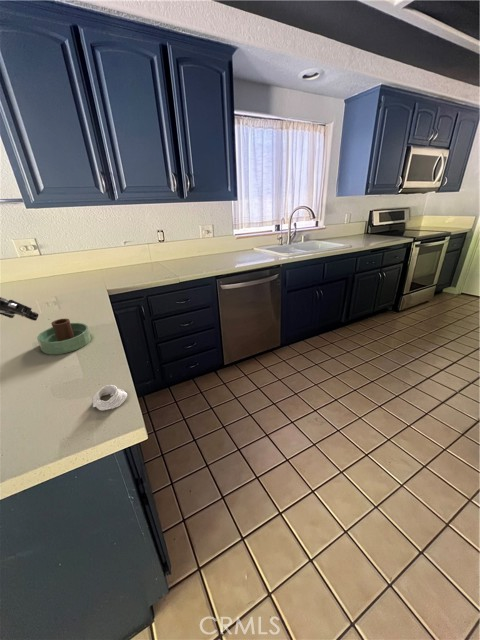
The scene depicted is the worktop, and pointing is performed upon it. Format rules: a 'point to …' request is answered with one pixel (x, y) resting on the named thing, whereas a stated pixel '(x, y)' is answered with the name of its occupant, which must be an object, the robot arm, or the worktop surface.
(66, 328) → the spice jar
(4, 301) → the robot arm
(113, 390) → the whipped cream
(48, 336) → the bowl
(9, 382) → the worktop surface
